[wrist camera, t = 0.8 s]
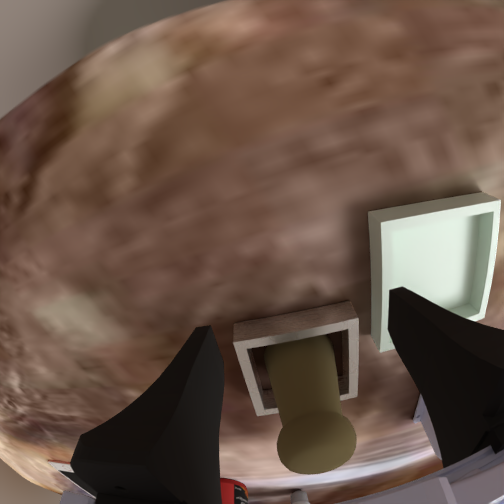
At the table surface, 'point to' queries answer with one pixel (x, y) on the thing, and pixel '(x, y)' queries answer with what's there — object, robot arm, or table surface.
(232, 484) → the canned food
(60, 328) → the table surface
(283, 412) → the cork
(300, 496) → the lightbulb
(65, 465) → the cell phone
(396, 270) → the tray
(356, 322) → the holder
